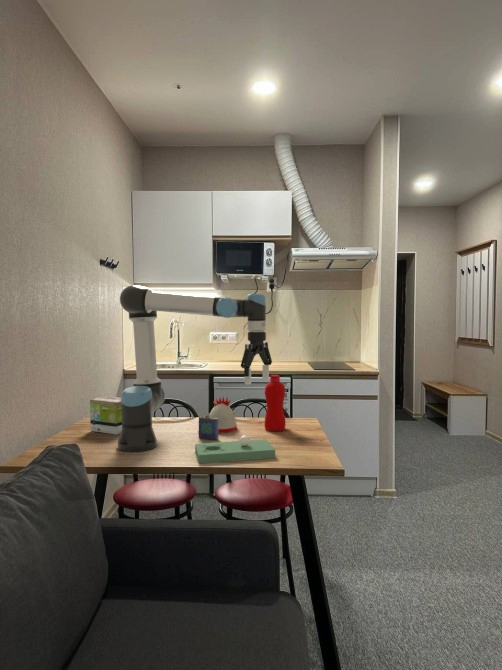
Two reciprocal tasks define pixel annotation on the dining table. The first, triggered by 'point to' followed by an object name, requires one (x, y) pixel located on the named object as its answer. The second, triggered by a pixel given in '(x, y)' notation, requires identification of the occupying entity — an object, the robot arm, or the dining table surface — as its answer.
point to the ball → (244, 440)
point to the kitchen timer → (224, 416)
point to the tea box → (106, 415)
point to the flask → (208, 428)
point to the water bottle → (275, 404)
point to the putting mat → (233, 451)
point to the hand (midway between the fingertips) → (257, 382)
